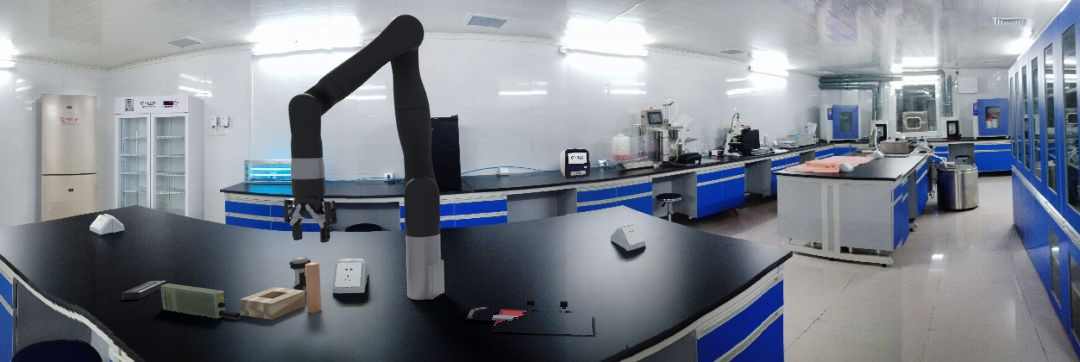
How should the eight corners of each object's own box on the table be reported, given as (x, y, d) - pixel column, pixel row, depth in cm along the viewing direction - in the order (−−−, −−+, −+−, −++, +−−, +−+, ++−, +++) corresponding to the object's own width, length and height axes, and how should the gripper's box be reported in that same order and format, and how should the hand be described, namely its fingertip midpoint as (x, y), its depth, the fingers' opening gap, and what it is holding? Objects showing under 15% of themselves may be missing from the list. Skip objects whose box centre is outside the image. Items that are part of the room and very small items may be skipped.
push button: (300, 298, 126) (298, 262, 125) (283, 297, 127) (281, 261, 126) (316, 290, 132) (314, 256, 132) (299, 289, 133) (297, 255, 132)
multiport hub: (121, 301, 125) (121, 293, 125) (150, 288, 136) (149, 280, 136) (139, 300, 125) (139, 292, 125) (166, 287, 136) (166, 280, 136)
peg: (324, 309, 118) (322, 263, 117) (314, 313, 115) (312, 266, 114) (314, 307, 119) (312, 262, 118) (304, 312, 116) (302, 265, 115)
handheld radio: (174, 306, 121) (245, 318, 113) (160, 311, 118) (232, 323, 110) (171, 282, 120) (242, 291, 112) (157, 286, 117) (229, 296, 109)
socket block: (305, 305, 120) (304, 290, 120) (272, 319, 111) (271, 303, 110) (275, 301, 123) (275, 286, 123) (241, 314, 114) (240, 299, 114)
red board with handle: (474, 307, 119) (459, 332, 104) (474, 297, 118) (459, 320, 104) (591, 313, 116) (593, 339, 101) (591, 302, 116) (593, 327, 101)
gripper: (342, 175, 115) (345, 239, 116) (298, 174, 120) (301, 236, 121) (319, 178, 108) (322, 246, 109) (273, 176, 112) (276, 242, 114)
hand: (311, 240), depth 115 cm, fingers open, 8 cm apart
